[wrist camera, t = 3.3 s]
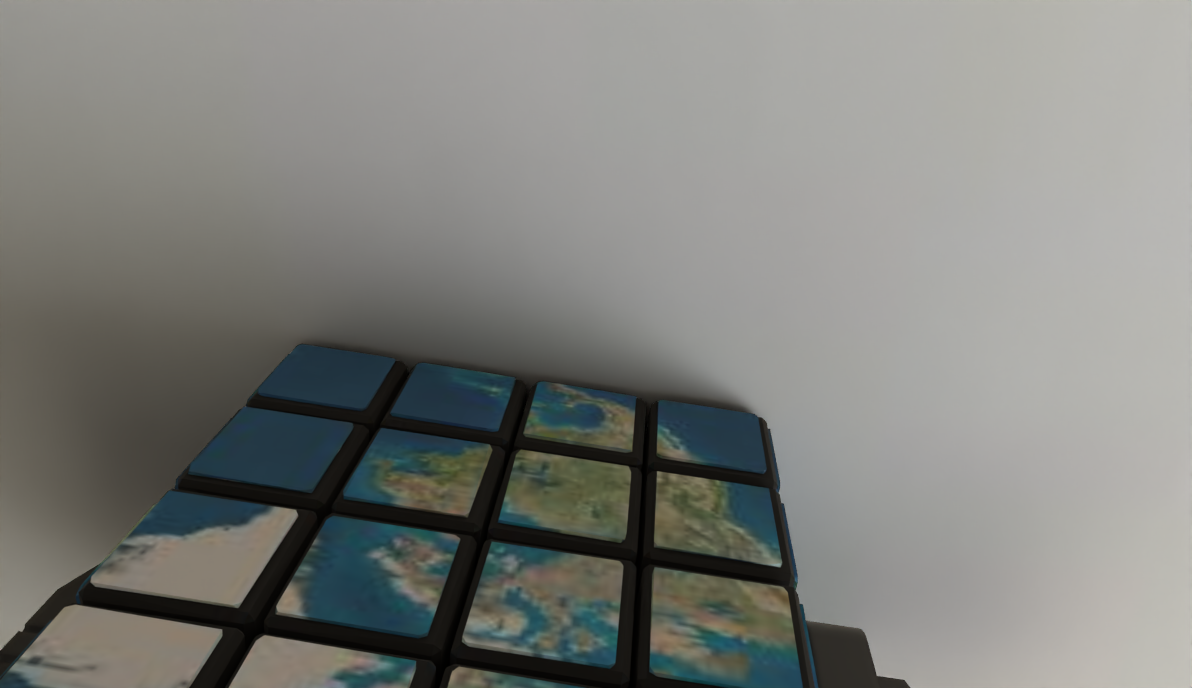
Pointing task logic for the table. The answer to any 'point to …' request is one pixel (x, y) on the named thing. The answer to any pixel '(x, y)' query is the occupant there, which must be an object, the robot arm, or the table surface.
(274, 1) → the table surface
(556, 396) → the puzzle
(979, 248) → the table surface
